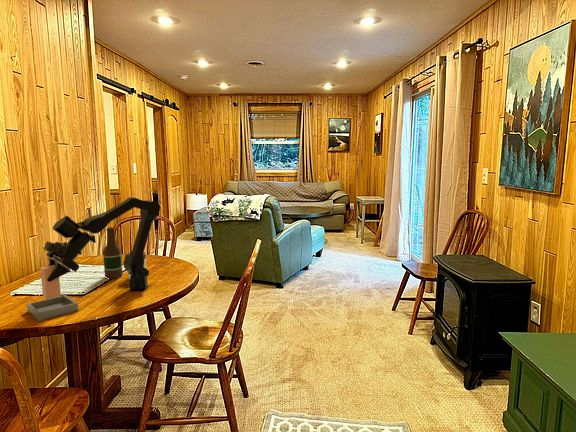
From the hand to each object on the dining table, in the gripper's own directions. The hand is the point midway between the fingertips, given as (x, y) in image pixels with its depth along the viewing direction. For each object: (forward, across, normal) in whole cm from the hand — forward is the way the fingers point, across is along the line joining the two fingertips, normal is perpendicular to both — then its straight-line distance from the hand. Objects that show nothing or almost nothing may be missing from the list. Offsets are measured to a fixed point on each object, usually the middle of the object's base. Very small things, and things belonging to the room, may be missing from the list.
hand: (46, 279), depth 146 cm
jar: (-21, -16, +39) cm, 47 cm away
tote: (+8, 0, +10) cm, 13 cm away
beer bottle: (-16, -25, +34) cm, 45 cm away
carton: (+4, 0, +6) cm, 7 cm away
